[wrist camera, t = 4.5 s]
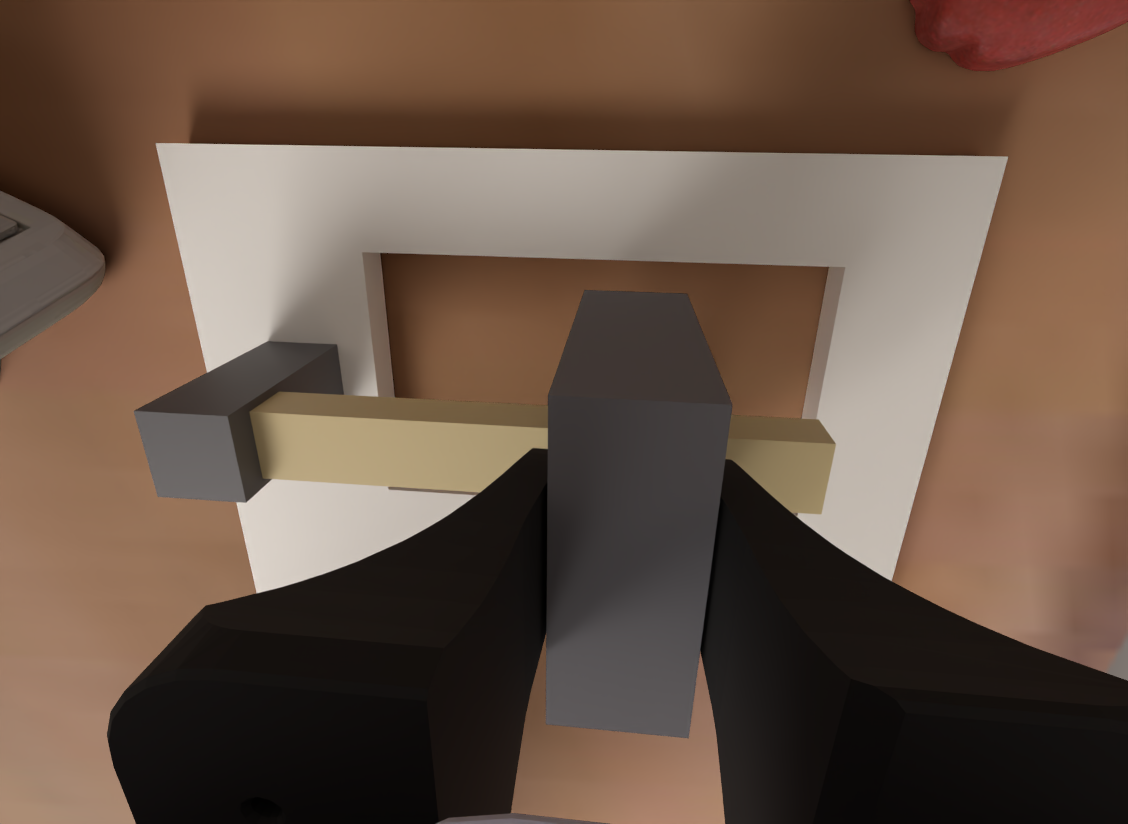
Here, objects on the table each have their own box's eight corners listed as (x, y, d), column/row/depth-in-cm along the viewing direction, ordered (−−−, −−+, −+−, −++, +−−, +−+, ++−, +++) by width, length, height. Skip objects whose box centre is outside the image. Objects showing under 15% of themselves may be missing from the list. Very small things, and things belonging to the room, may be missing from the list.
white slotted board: (859, 619, 20) (950, 804, 14) (276, 574, 22) (151, 723, 16) (980, 156, 15) (1202, 158, 9) (187, 143, 16) (-50, 138, 11)
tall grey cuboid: (665, 513, 17) (688, 738, 10) (578, 508, 17) (545, 724, 10) (687, 293, 14) (731, 405, 8) (584, 289, 15) (548, 395, 8)
